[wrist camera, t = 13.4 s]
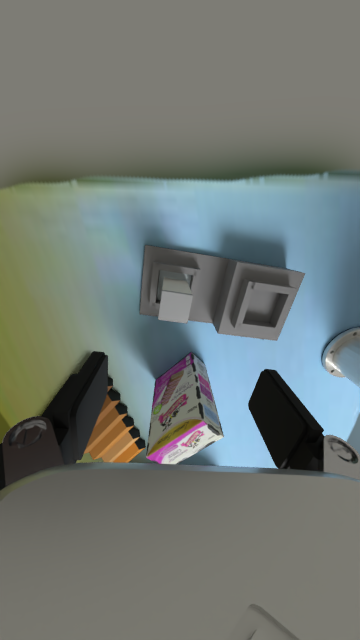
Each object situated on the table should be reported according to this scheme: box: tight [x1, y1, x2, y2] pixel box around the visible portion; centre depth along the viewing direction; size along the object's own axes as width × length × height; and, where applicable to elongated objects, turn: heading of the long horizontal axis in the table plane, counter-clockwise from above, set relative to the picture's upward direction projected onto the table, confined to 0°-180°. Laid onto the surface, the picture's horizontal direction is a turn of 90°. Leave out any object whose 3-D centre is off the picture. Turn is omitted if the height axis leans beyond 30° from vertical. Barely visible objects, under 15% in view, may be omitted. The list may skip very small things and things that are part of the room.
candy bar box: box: [146, 352, 224, 464], centre depth 34 cm, size 11×5×16 cm, turn 132°
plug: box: [158, 277, 193, 323], centre depth 28 cm, size 4×4×9 cm
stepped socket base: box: [140, 245, 305, 341], centre depth 31 cm, size 25×12×7 cm, turn 81°
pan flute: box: [84, 377, 146, 463], centre depth 44 cm, size 25×3×25 cm
